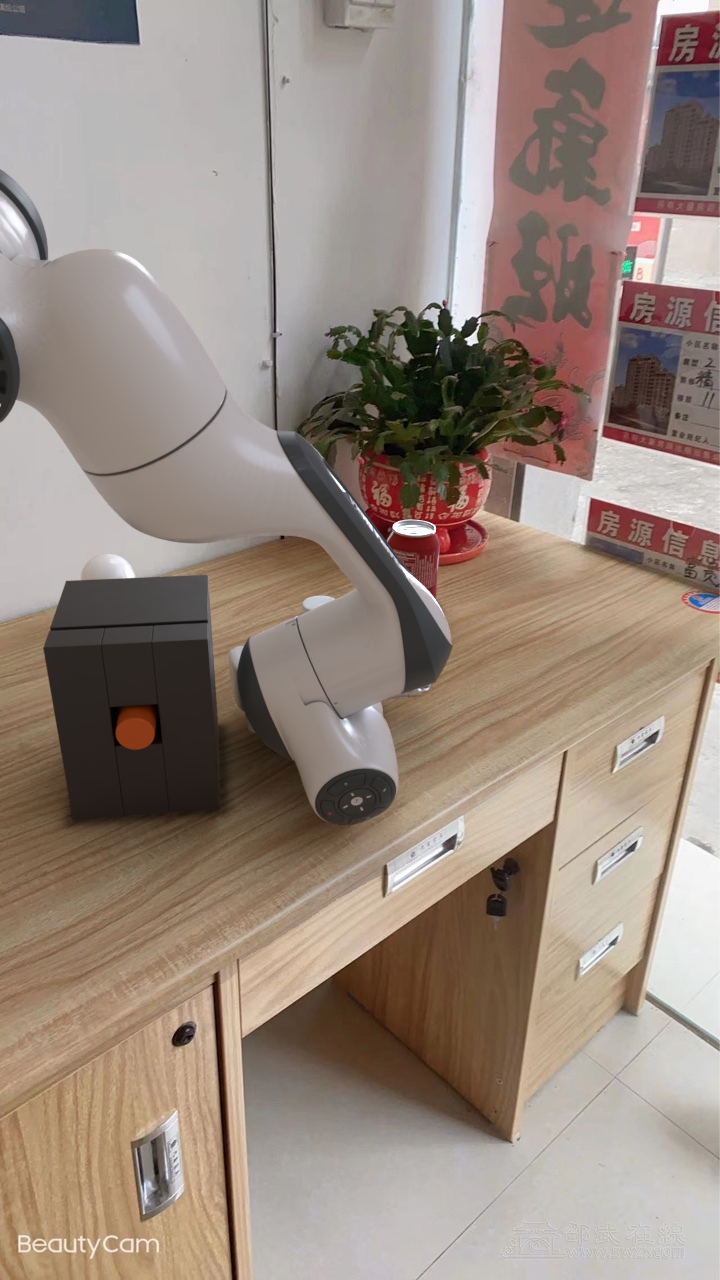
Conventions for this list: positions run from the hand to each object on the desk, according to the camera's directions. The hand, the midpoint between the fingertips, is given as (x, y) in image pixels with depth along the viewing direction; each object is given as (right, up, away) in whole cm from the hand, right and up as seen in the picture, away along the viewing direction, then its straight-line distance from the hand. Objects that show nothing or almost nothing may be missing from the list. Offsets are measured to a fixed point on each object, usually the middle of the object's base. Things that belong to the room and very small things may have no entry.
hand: (318, 634), depth 99 cm
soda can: (+11, +3, +19) cm, 22 cm away
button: (-14, -9, -23) cm, 29 cm away
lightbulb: (-26, -1, +11) cm, 28 cm away
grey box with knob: (-16, -14, -13) cm, 25 cm away
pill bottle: (0, -5, +2) cm, 6 cm away
